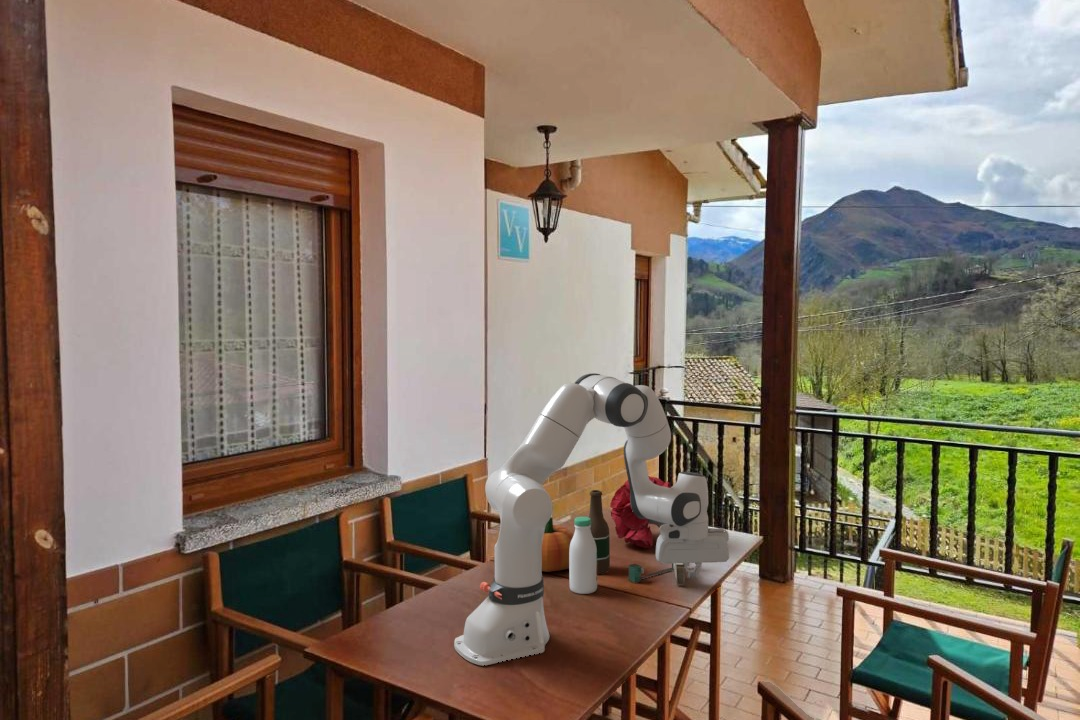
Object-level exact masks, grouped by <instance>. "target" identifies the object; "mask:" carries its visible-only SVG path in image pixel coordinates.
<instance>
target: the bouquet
mask: <svg viewBox="0 0 1080 720" xmlns="http://www.w3.org/2000/svg"><path fill="white" fill-rule="evenodd" d="M648 476H649V475H648ZM649 480H650V481H651V482H653V483H654V484H656V485H659V486H663V487H668V488H671V487H672V486H673V485H671V483H670V481H666V482H665V481H663V480H662V479H661V478H659V477H654V476H649ZM609 507H610V508H612V509H611V510H610V516H611V519H612V520H613V521H614V523H615V531H616V535H617V538H618V539H624V543H625V544H629V543H630V544H632V545H636V546H638V547H641V548H642V547H643V548H644V547H645V548H644V549H646V548H648V549H651V547H653V533H652V530H651V525H654V526H657V527H658V528H659V529H660V526H661V525H664V524H667V523H662V522H658V521H654V520H648V519H641V518H638V517H637V516H636V515H635V514H634V512H633V510H632V508H631V504H630V487H629V482H628V479H627V480H626V481H625V482H624V483H623V485H621V486H620V487H619V488H618V489H616V491H615V492H614V495H613V496H612V497H611V500H610V504H609Z"/></svg>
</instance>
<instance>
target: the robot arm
mask: <svg viewBox="0 0 1080 720" xmlns="http://www.w3.org/2000/svg"><path fill="white" fill-rule="evenodd" d="M536 418H537V419H536V420H535V422H534V423H533V425H532V426H531V428H530V430H529V431H528V433H527V435H525V438H524V439H523V441H522V442H521V443H520V445H519V446H518V448H517V449H516V450H515V451H514V452H513V453H512V454H511V455H510V457H509V458H508V459H507V460H506V461H505V462H504V463H503V465H501V467H500V468H498V469H497V470H494V471H493V472H492V473H491V474H490V475H489V476H488V477H487V479H486V482H485V486H484V491H485V496H486V499H487V501H488V504H489V506H490V507H491V508H492V509H493V510H495V511H496V512H497V513H498V515H499V519H500V526H499V527H500V528H499V533H498V538H497V541H496V543H495V545H494V549H493V551H494V552H493V553H494V578H493V580H492V583H491V584H489V583H488V582H486V581H483V582H481V583H480V585H479V589H480V590H481V591H483V592H484V593H488V596H487V597H486V598H485V599H484V600H483V601H482V602H481V604H479V605H478V606H477V607H476V608H475V609H474V610H473V611H472V612H471V613H470V614H469V615H468V616H467V618H466V619H465V623H464V628H463V634H462V635H459V636H458V637H455V639H454V642H453V646H454V650H455V651H456V652H457V654H459V655H460V657H462V658H464V659H465V660H466V661H468V662H470V663H471V664H475V665H478V666H482V667H485V666H488V665H495V664H497V663H498V662H499V663H503V662H507V661H506V660H508V661H512V660H511V659H513V660H517V659H520V657H522V658H526V657H530V656H529V655H531V656H534V654H535V655H539V653H540V654H543V653H545V650H546V648H545V647H546V644H547V643H548V642H549V640H550V633H549V629H548V626H547V621H546V617H545V609H544V599H543V598H544V594H545V582H544V576H543V573H542V572H543V571H542V541H543V535H544V531H545V526H546V524H547V522H548V521H549V520H550V518H551V517H552V515H553V511H554V508H553V507H554V505H553V501H552V498H551V496H550V494H549V492H548V491H547V490H546V488H545V487H544V486H543V484H545V482H546V481H547V479H549V478H550V477H551V476H552V475H553V474H554V473H555V472H557V471H558V470H561V468H563V467H564V465H565V463H566V462H567V461H568V459H569V457H570V455H571V454H572V452H573V451H574V448H575V446H576V445H577V444H578V441H579V440H580V438H581V436H582V435H583V432H584V431H585V429H586V427H587V425H588V424H589V422H591V421H592V420H594V419H596V420H597V421H600V422H602V423H605V424H611V425H613V426H614V427H619V428H624V430H625V434H626V437H627V438H626V439H627V440H626V441H625V442H624V445H623V458H624V459H623V460H624V464H625V470H626V475H627V480H628V482H629V487H630V504H631V508H632V510H633V512H634V514H635V515H636V516H637V517H638V518H641V519H648V520H654V521H658V522H662V523H667V524H664V525H661V526H660V528H659V532H660V534H659V535H658V537H657V538H656V545H655V559H656V561H657V562H658V563H659V564H662V565H663V564H664V565H666V564H667V565H668V564H672V563H682V564H683V565H684V570H686V577H687V578H688V579H696V578H697V579H698V578H699V571H701V570H700V569H701V568H702V565H703V564H702V563H725V562H727V561H728V560H729V559H730V553H729V552H730V551H729V545H728V543H729V541H730V538H729V537H730V536H729V532H728V531H727V529H724V528H723V527H718V528H712V527H711V528H709V515H708V512H707V511H708V507H709V488H708V482H707V479H706V476H705V475H703V474H702V473H699V472H698V473H697V472H693V471H680V472H679V473H678V475H677V480H676V483H675V484H674V485H671V486H672V487H671V488H668V487H663V486H659V485H656V484H654V483H653V482H651V481H650V480H649V471H648V465H647V461H648V460H652V459H655V458H657V457H658V456H660V455H661V454H663V453H664V452H665V451H666V450H667V448H668V447H669V446H670V444H671V441H672V440H671V439H672V433H671V428H670V425H669V421H668V418H667V415H666V413H665V411H664V407H663V405H662V403H661V402H660V400H659V397H658V396H657V394H656V392H655V391H654V390H653V388H651V387H649V386H647V385H644V384H640V385H639V384H637V385H634V384H631V383H629V382H624V381H622V380H620V379H618V378H616V377H613V376H609V375H604V374H600V373H587V374H584V375H582V376H580V377H579V378H578V379H576V381H575V382H568V383H567V382H566V383H565V384H562V385H561V386H560V387H559V388H558V389H557V391H556V392H554V393H553V395H552V396H551V397H550V398H549V400H548V401H547V402H546V405H544V407H543V409H542V410H541V411H540V413H539V415H538V416H537V417H536ZM690 564H695V566H694V568H693V569H690V568H689V567H690ZM525 656H526V657H525ZM516 658H517V659H516ZM502 661H503V662H502ZM499 663H498V664H499ZM484 665H485V666H484Z"/></svg>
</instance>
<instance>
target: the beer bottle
mask: <svg viewBox="0 0 1080 720" xmlns="http://www.w3.org/2000/svg"><path fill="white" fill-rule="evenodd" d="M589 496H590V503H589V505H590V506H589V515H588V517H589V518H590V519H591V527H590V530H591V534H592V536H593V538H594V541H595V543H596V548H597V574H598V575H603V574H602V573H605V574H606V572H607V571H608V570H609V571H610V565H611V563H610V562H611V561H610V559H611V557H610V555H611V554H610V551H611V549H610V548H611V547H610V541H611V540H610V528H609V524H608V522H607V521H606V519H605V518H604V513H603V502H602V501H603V500H602V496H603V492H602V491H601V490H600V489H593V490H591V491H590V492H589ZM607 573H608V572H607Z"/></svg>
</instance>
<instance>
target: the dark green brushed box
mask: <svg viewBox="0 0 1080 720" xmlns="http://www.w3.org/2000/svg"><path fill="white" fill-rule="evenodd" d="M644 573H645V567H644V566H641V565H639V564H638V563H632V564H629V565H628V581H629V580H630V581H629V582H631V581H632V582H631V583H633V582H634V583H633V584H637V583H640V582H642V580H641V577H642V574H644ZM639 581H640V582H639ZM636 582H637V583H636Z"/></svg>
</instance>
